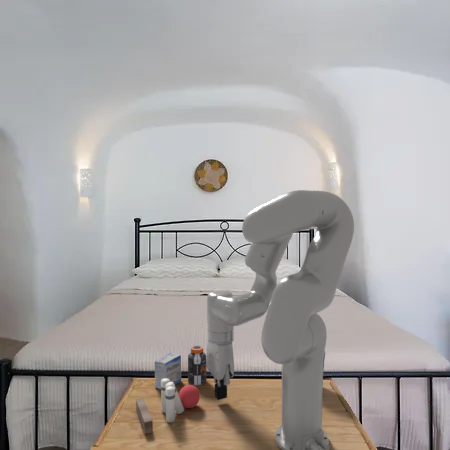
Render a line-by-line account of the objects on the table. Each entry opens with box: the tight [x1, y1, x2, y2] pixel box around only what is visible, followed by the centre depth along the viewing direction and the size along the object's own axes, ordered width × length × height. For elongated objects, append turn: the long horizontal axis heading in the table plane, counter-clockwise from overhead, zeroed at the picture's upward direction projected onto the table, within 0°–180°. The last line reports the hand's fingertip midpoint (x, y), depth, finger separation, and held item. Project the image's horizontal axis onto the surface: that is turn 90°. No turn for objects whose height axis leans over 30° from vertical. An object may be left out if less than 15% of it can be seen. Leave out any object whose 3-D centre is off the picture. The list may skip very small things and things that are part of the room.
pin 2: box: [165, 386, 176, 423], centre depth 99 cm, size 2×2×8 cm
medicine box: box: [154, 352, 182, 390], centre depth 118 cm, size 8×4×9 cm, turn 148°
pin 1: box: [160, 378, 170, 414], centre depth 103 cm, size 2×2×8 cm
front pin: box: [165, 382, 185, 415], centre depth 102 cm, size 2×2×8 cm
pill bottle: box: [187, 345, 207, 386], centre depth 120 cm, size 6×6×11 cm
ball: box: [178, 384, 201, 409], centre depth 105 cm, size 6×6×6 cm
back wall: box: [135, 397, 154, 435], centre depth 99 cm, size 12×2×3 cm, turn 23°
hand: (220, 397), depth 107 cm, fingers closed
